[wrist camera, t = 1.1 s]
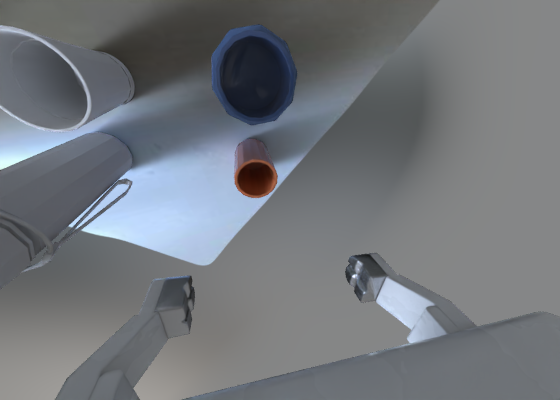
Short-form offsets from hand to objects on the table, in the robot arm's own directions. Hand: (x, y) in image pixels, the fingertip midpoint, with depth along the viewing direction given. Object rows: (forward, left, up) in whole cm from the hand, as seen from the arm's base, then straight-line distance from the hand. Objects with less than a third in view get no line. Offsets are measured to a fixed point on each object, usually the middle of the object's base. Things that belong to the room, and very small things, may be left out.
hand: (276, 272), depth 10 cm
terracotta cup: (+4, +2, -29) cm, 29 cm away
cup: (+2, -20, -29) cm, 35 cm away
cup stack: (-7, -3, -29) cm, 30 cm away
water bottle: (+13, -18, -29) cm, 36 cm away
